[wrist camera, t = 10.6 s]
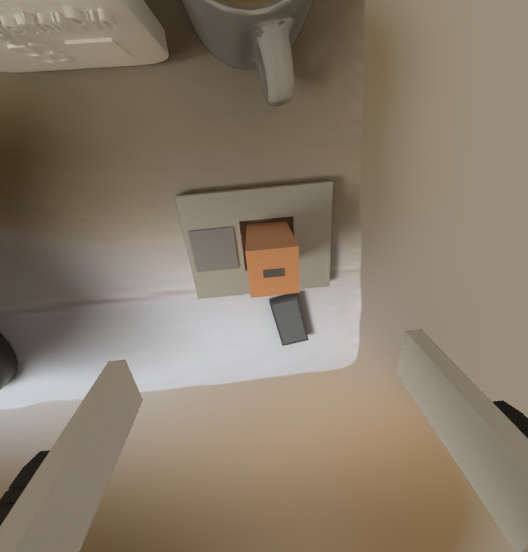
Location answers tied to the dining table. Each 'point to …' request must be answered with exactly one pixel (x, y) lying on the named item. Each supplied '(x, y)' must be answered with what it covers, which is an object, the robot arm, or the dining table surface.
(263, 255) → the block
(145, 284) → the dining table surface
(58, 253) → the dining table surface
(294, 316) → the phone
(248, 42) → the coffee mug
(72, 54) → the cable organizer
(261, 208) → the outlet plate
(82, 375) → the dining table surface
